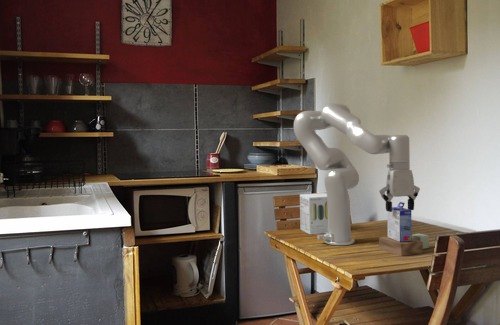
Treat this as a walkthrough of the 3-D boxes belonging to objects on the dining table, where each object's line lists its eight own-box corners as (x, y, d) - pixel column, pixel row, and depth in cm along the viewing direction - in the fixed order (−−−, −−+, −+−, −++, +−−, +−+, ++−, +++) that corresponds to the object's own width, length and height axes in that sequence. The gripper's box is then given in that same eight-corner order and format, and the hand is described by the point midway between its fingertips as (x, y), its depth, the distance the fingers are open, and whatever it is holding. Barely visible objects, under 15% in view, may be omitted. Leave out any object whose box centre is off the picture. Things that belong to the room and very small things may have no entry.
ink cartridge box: (413, 241, 197) (411, 203, 196) (400, 242, 196) (398, 204, 195) (399, 236, 207) (398, 200, 206) (387, 237, 206) (386, 201, 205)
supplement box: (309, 234, 238) (308, 197, 237) (300, 229, 251) (299, 194, 250) (336, 232, 241) (335, 195, 240) (325, 227, 254) (324, 192, 253)
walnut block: (401, 257, 194) (401, 244, 193) (379, 249, 207) (378, 237, 206) (422, 254, 197) (422, 241, 197) (399, 247, 210) (399, 235, 210)
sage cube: (420, 249, 203) (420, 236, 203) (410, 247, 208) (410, 235, 207) (429, 247, 206) (428, 235, 206) (418, 245, 210) (418, 233, 210)
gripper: (385, 168, 194) (385, 213, 195) (424, 166, 199) (425, 210, 200) (374, 167, 201) (375, 210, 202) (413, 165, 206) (413, 207, 207)
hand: (400, 210), depth 201 cm, fingers open, 9 cm apart
